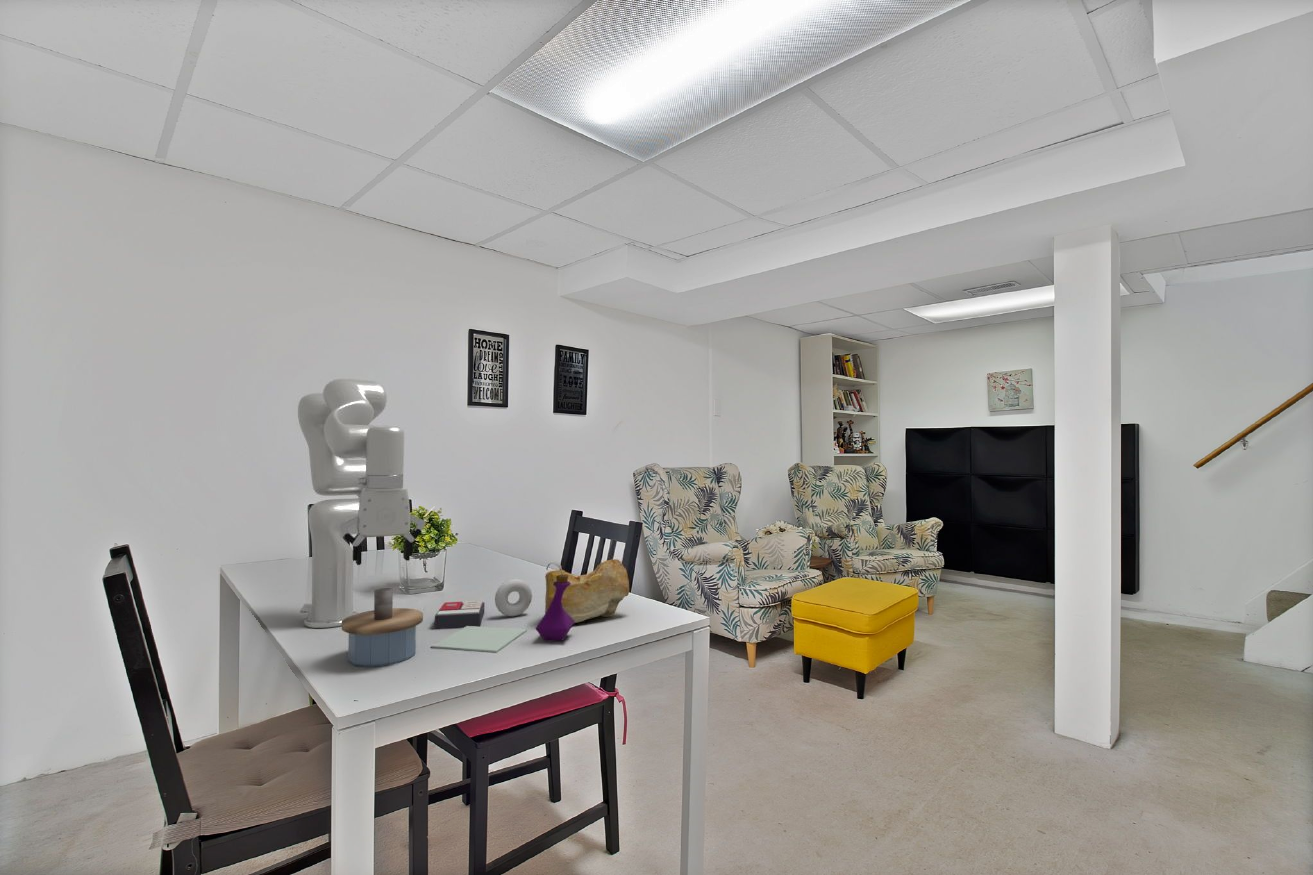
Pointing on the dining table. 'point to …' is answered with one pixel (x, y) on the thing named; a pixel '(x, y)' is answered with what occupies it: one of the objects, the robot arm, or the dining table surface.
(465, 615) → the flat rectangular box
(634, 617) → the dining table surface
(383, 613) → the lid
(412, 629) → the bowl
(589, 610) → the rough brown rock
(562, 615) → the perfume bottle
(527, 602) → the donut
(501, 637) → the mat
